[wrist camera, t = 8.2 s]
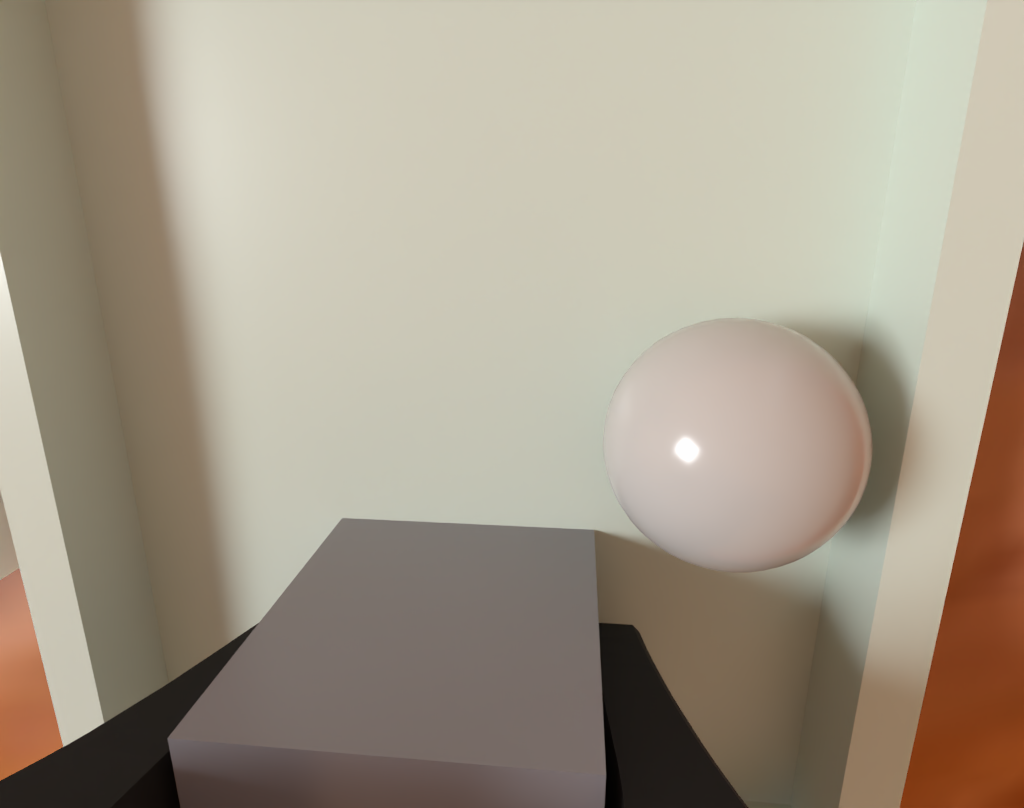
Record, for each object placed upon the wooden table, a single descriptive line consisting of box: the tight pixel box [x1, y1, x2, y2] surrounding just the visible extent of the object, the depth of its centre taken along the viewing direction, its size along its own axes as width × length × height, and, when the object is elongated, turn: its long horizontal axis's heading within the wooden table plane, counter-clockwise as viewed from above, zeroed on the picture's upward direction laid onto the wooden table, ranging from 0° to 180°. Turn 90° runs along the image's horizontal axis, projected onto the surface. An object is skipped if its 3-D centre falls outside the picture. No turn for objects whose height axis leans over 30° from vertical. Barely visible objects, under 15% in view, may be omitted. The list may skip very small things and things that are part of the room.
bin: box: [0, 0, 1024, 808], centre depth 9 cm, size 16×13×2 cm
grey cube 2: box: [167, 518, 606, 808], centre depth 8 cm, size 4×4×4 cm
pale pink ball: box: [603, 317, 873, 573], centre depth 8 cm, size 3×3×3 cm
